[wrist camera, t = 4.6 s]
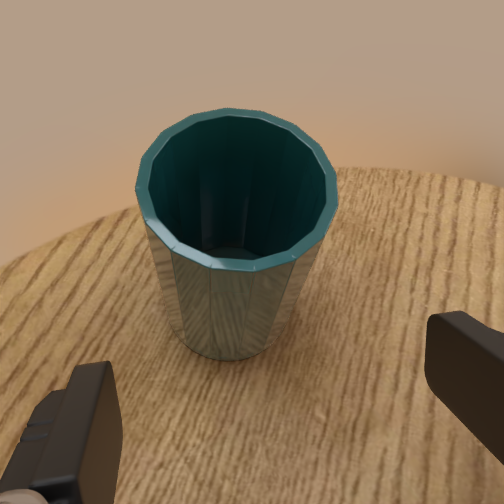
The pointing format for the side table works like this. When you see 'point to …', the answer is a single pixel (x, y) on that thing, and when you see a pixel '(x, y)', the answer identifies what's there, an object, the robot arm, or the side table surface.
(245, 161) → the cutlery cup
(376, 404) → the side table surface
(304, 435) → the side table surface
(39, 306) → the side table surface
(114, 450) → the robot arm
